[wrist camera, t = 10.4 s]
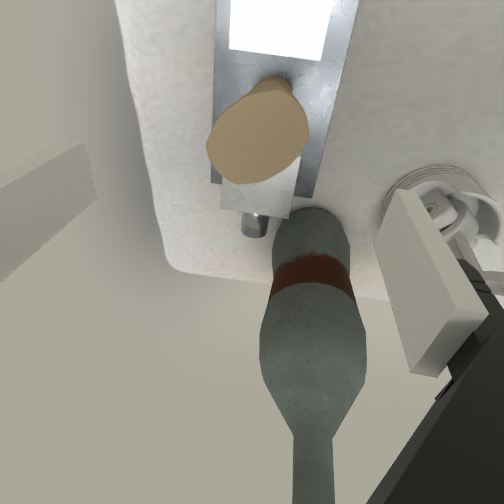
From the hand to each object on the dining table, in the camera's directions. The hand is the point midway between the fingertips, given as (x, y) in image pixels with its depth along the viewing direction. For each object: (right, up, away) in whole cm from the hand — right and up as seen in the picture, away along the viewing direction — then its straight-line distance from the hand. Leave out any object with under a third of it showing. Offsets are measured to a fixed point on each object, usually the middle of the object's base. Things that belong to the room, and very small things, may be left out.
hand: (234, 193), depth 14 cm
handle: (+3, +13, +18) cm, 22 cm away
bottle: (+8, 0, +27) cm, 29 cm away
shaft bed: (+3, +13, +18) cm, 23 cm away
